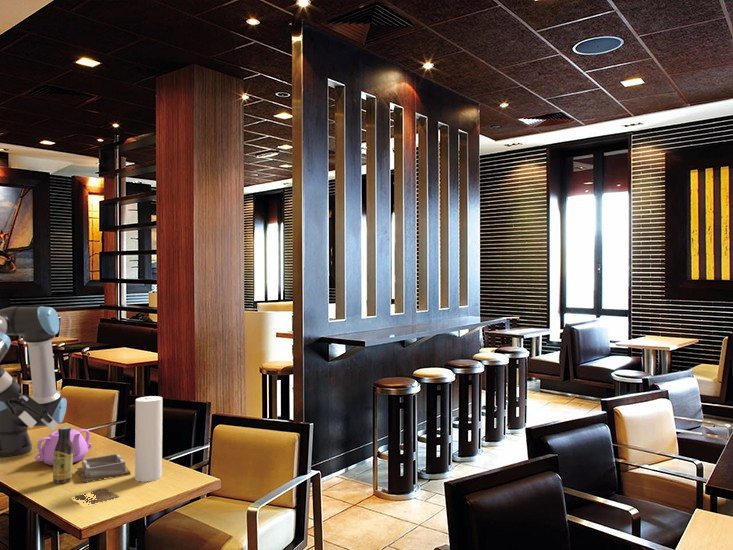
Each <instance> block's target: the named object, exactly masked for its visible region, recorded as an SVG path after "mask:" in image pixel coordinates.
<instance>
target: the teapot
mask: <svg viewBox="0 0 733 550" xmlns="http://www.w3.org/2000/svg"><path fill="white" fill-rule="evenodd" d="M82 433H86V436H85V437H84V436H83V434H82ZM90 437H91V433H90V430H88V429H85V428H83V429H82V428H81V429H79V430H77V429H74V428H71V431H70V441H71V442H72V444H73V464H74V463H77V462H79V461H82V459H85V458H84V457H86V455H87V454H88V451H89V450H90V449H92V446H93V445H92V443H91V442H89V441H90ZM58 438H59V432H58V430H55V431H53V432H51V433H50V434H49V435H48V436H43V437H42V438H40V439H39V440H38V441H37V443H36V444H37V451H38V453H37V454H36V455H35V457H34V460H35V461H36V462H41V461H42V462H43V463H44V464H46V465H49V466H53V463H54V450H55V447H56V444H57V442H58ZM42 442H44V443H43V445H42Z"/></svg>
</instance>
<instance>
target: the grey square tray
mask: <svg viewBox="0 0 733 550" xmlns="http://www.w3.org/2000/svg"><path fill="white" fill-rule="evenodd" d="M81 461H82V462H81V463H82V464H81V465H82V466H81V467H77V468H76V469H77V470H78V471H77V470H76V471H77V473H78V472H79V473H78V475H79V474H80V475H79V476H81V477H80V479H81V478H82V479H81V481H82V480H83V481H82V483H83V482H87V481H93V480H98V481H100V480H99V479H103V480H105V479H104V478H109V477H114V478H117V477H116V476H120V477H122V476H121V475H125V476H128V475H127V474H130V475H131V471H130V470H129V468H128V467H127V466H126V461H125V460H124V459H123V457H122V456H121V455H120V454H119V453H114V454H107V455H102V456H101V455H99V456H95V457H94V456H93V457H90V458H83V459H81ZM109 479H110V478H109ZM93 482H94V481H93ZM87 483H88V482H87Z"/></svg>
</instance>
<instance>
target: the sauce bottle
mask: <svg viewBox="0 0 733 550" xmlns="http://www.w3.org/2000/svg"><path fill="white" fill-rule="evenodd" d="M71 429H72V427H71V426H70V425H69V426H67V425H65V426H60V427H58V429H57V431H58V432H59V438H58V442H57V444H56V447H55V450H54V463H53V465H52V466H53V467H52V468H53V469H52V480H53V483H54V484H57V485H58V484H59V485H61V484H62V483H63V484H66V482H67V483H69V482H71V481H72V479H73V464H74V463H73V444H72V442H71V441H70V431H71ZM70 480H71V481H70ZM63 484H62V485H63Z"/></svg>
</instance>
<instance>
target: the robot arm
mask: <svg viewBox="0 0 733 550" xmlns="http://www.w3.org/2000/svg"><path fill="white" fill-rule="evenodd" d="M59 330H60V318H59V315H58V312H57V310H55V309H54V307H50V306H41V305H40V306H9V307H6V308H1V309H0V362H1V361H2V360H3V359H4V357H5V355H6V354H7V353H8V351H9V349H10V346H11V344H12V343H11V342H12V341H11V338H10V336H22V341H23V342H24V343H26V344H27V346H28V347H27V349H28V355H29V356H28V357H29V366H30V375H31V384H32V392H33V393H32V395H31V396H29V395H28V394H27V393H24V394H23V393H20V390H21V385H20V384H19V383H18V382H17V381H16V380H15V379H14V378H13V376H11V375H10V374H9V372H7V370H6V369H4V367H2V366H1V365H0V458H7V457H8V458H9V457H14V456H19V455H23V454H27V453H29V452H31V451H32V449H33V444H32V440H31V438H30V436H29V432H28V428H29V429H33V427H34V428H35V427H47V428H48V429H50V430H51V431H53V432H54V430H56V428H57V427H58V426H59V425H60V424H61V423H63V421H64V418H65V415H66V412H67V405H68V404H67V403H68V402H67V401H68V400H67V399H66V398H65V397H62V395H61V392H60V391H59V390H57V386H56V385H57V384H56V374H55V363H54V362H55V361H54V355H53V344H52V341H53V340H54V339H55V337H56V335H57V334H58V333H59Z"/></svg>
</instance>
